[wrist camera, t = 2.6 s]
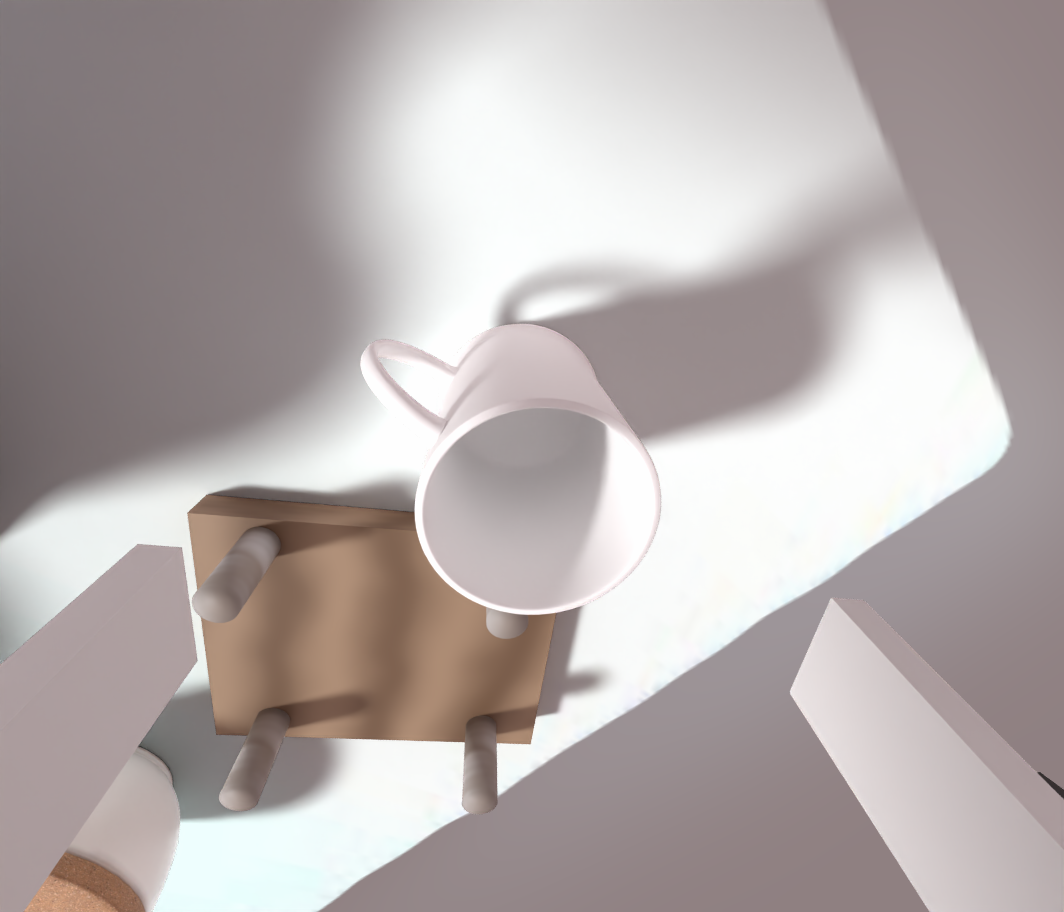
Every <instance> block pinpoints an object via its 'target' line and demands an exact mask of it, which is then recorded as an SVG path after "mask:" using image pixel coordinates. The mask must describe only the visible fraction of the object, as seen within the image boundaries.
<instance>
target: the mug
mask: <svg viewBox="0 0 1064 912" xmlns="http://www.w3.org/2000/svg"><path fill="white" fill-rule="evenodd" d="M379 358H387V359H392V360H396V361H399V362H402V363H405V364H408V365H410V366H412V367H415V368H417V369H419V370H421V371H423V372H425V373H427V374H429V375H431V376H432V377H434V378H436V379H437V380H438V381H440V382H441V385H440V390H439V411H438V414H437V415H435V414H434V413H432V412H430V411H429V410H427V409H426V408H425V407H423V406H422V405H421V404H419V403H418V402H417V401H416V400H415V399H413V398H412V397H411V396H410V395H409V394H408V393H407V392H406V391H405V390H403V389H402V388H401V387H400V386H399V385H398V384H397V383H396V381H395V380H394V379H393V378H392V377H391V376H390V375H389V373H388V372H387V371H386V370H385V368H384V367H383V365H382V363H381V362H380V360H379ZM360 364H361V370H362V373H363V376H364V378H365V380H366V382H367V384H368V385H369V387H370V388H371V390H372V391H373V392H374V394H375V395H376V396H377V397H378V398H379V400H380V401H381V402H382V403H383V404H384V405H385V406H386V407H387V408H388V409H389V410H390V411H391V412H392V413H393V414H394V415H395V416H396V417H397V418H398V419H399V420H400V421H402V422H403V423H404V424H405V425H406V426H407V427H409V428H410V429H411V430H412V431H414V432H415V433H416V434H417V435H418V436H420V437H421V438H422V439H423V440H424V441H425V442H426V443H427V444H428V446H429V447H428V450H427V454H426V458H425V461H424V465H423V468H422V472H421V476H420V479H419V483H418V487H417V492H416V499H415V523H416V529H417V534H418V538H419V541H420V544H421V546H422V549H423V551H424V553H425V555H426V557H427V559H428V560H429V562H430V564H431V565H432V567H433V568H434V569H435V571H436V572H437V573H438V574H439V575H440V577H441V578H442V579H443V580H444V581H445V582H446V583H447V584H449V585H450V586H451V587H452V588H453V589H455V590H456V591H457V592H459V593H460V594H462V595H463V596H465V597H467V598H468V599H470V600H472V601H474V602H476V603H478V604H481V605H483V606H486V607H488V608H491V609H495V610H498V611H503V612H507V613H514V614H524V615H540V614H551V613H557V612H562V611H566V610H570V609H573V608H577V607H579V606H582V605H585V604H587V603H589V602H592V601H594V600H596V599H598V598H599V597H601V596H603V595H605V594H606V593H608V592H609V591H611V590H612V589H614V588H615V587H616V586H618V585H619V584H620V583H621V582H622V581H624V580H625V579H626V578H627V577H628V576H629V575H630V574H631V573H632V572H633V571H634V569H635V568H636V567H637V566H638V565H639V563H640V562H641V560H642V559H643V558H644V556H645V554H646V553H647V551H648V549H649V547H650V545H651V543H652V541H653V539H654V536H655V533H656V530H657V527H658V523H659V518H660V511H661V491H660V484H659V479H658V475H657V472H656V469H655V466H654V464H653V462H652V459H651V457H650V455H649V454H648V452H647V450H646V449H645V447H644V445H643V444H642V442H641V441H640V440H639V438H638V437H637V435H636V434H635V433H634V431H633V430H632V428H631V427H630V426H629V424H628V423H627V421H626V420H625V419H624V417H623V416H622V414H621V413H620V412H619V410H618V409H617V408H616V406H615V405H614V403H613V402H612V401H611V399H610V398H609V396H608V395H607V394H606V392H605V391H604V389H603V388H602V387H601V385H600V384H599V382H598V381H597V377H596V374H595V372H594V370H593V367H592V365H591V364H590V362H589V360H588V359H587V357H586V356H585V355H584V353H583V352H582V351H581V350H580V349H579V348H578V347H577V346H576V345H575V344H574V343H573V342H572V341H570V340H569V339H568V338H566V337H565V336H563V335H562V334H560V333H558V332H556V331H554V330H551V329H549V328H546V327H542V326H538V325H533V324H508V325H502V326H498V327H495V328H492V329H489V330H487V331H485V332H483V333H481V334H479V335H477V336H476V337H474V338H473V339H471V340H470V341H469V342H467V343H466V344H465V345H464V346H463V347H462V348H461V349H460V350H459V351H458V352H457V353H456V354H455V356H454V357H453V358H452V360H451V361H450V363H449V364H447V363H445V362H443V361H442V360H440V359H438V358H436V357H434V356H432V355H430V354H428V353H426V352H424V351H422V350H420V349H418V348H415V347H413V346H410V345H408V344H405V343H402V342H398V341H394V340H387V339H381V340H376V341H374V342H372V343H370V344H369V345H368V346H367V347H366V349H365V350H364V352H363V354H362V357H361V363H360Z"/></svg>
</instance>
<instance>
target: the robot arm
mask: <svg viewBox="0 0 1064 912" xmlns="http://www.w3.org/2000/svg"><path fill="white" fill-rule="evenodd" d="M197 661H198V660H197V653H196V646H195V639H194V631H193V624H192V617H191V610H190V602H189V595H188V588H187V581H186V573H185V566H184V559H183V552H182V547H169V546H156V545H143V544H137V545H136V546H135V547H134V548H133V549H132V550H130V551H129V552H128V553H127V554H126V555H125V556H124V557H122V558H121V559H120V560H119V561H118V562H117V563H116V564H114V565H113V566H112V567H111V568H110V569H109V570H108V571H107V572H105V573H104V574H103V575H102V576H101V577H100V578H99V579H97V580H96V581H95V582H94V583H93V584H92V585H91V586H89V587H88V588H87V589H86V590H85V591H84V592H83V593H81V594H80V595H79V596H78V597H77V598H76V599H75V600H73V601H72V602H71V603H70V604H69V605H68V606H67V607H65V608H64V609H63V610H62V611H61V612H60V613H59V614H57V615H56V616H55V617H54V618H53V619H52V620H51V621H49V622H48V623H47V624H46V625H45V626H44V627H43V628H41V629H40V630H39V631H38V632H37V633H36V634H35V635H33V636H32V637H31V638H30V639H29V640H28V641H27V642H25V643H24V644H23V645H22V646H21V647H20V648H19V649H17V650H16V651H15V652H14V653H13V654H12V655H11V656H9V657H8V658H7V659H6V660H5V661H4V662H3V663H1V664H0V912H24V910H25V909H26V908H27V906H28V905H29V903H30V902H31V900H32V899H33V897H34V896H35V895H36V893H37V892H38V890H39V889H40V887H41V886H42V884H43V883H44V882H45V880H46V879H47V877H48V876H49V874H50V873H51V871H52V870H53V869H54V867H55V866H56V864H57V863H58V861H59V860H60V858H61V857H62V856H63V854H64V853H65V851H66V850H67V848H68V847H69V845H70V844H71V843H72V841H73V840H74V838H75V837H76V835H77V834H78V832H79V831H80V830H81V828H82V827H83V825H84V824H85V822H86V821H87V819H88V818H89V817H90V815H91V814H92V812H93V811H94V809H95V808H96V806H97V805H98V804H99V802H100V801H101V799H102V798H103V796H104V795H105V793H106V792H107V791H108V789H109V788H110V786H111V785H112V783H113V782H114V780H115V779H116V778H117V776H118V775H119V773H120V772H121V770H122V769H123V767H124V766H125V765H126V763H127V762H128V760H129V759H130V757H131V756H132V754H133V753H134V752H135V750H136V749H137V747H138V746H139V744H140V743H141V741H142V740H143V739H144V737H145V736H146V734H147V733H148V731H149V730H150V728H151V727H152V726H153V724H154V723H155V721H156V720H157V718H158V717H159V715H160V714H161V713H162V711H163V710H164V708H165V707H166V705H167V704H168V702H169V701H170V700H171V698H172V697H173V695H174V694H175V692H176V691H177V689H178V688H179V687H180V685H181V684H182V682H183V681H184V679H185V678H186V676H187V675H188V674H189V672H190V671H191V669H192V668H193V666H194V665H195V663H196V662H197ZM790 694H791V696H792V697H793V699H794V700H795V702H796V703H797V705H798V707H799V708H800V710H801V711H802V713H803V714H804V716H805V718H806V719H807V721H808V722H809V724H810V725H811V727H812V729H813V730H814V732H815V733H816V735H817V736H818V738H819V739H820V741H821V743H822V744H823V746H824V747H825V749H826V750H827V752H828V754H829V755H830V757H831V758H832V760H833V761H834V763H835V764H836V766H837V768H838V769H839V771H840V772H841V774H842V775H843V777H844V779H845V780H846V782H847V783H848V785H849V786H850V788H851V789H852V791H853V792H854V794H855V796H856V797H857V799H858V800H859V802H860V804H861V805H862V807H863V808H864V810H865V811H866V813H867V814H868V816H869V817H870V819H871V821H872V822H873V824H874V825H875V827H876V828H877V830H878V831H879V833H880V835H881V836H882V838H883V839H884V841H885V843H886V844H887V845H888V847H889V849H890V850H891V852H892V853H893V855H894V857H895V858H896V860H897V861H898V863H899V864H900V866H901V867H902V869H903V871H904V872H905V874H906V875H907V877H908V878H909V880H910V881H911V883H912V885H913V886H914V888H915V889H916V891H917V893H918V894H919V896H920V897H921V899H922V900H923V902H924V903H925V905H926V907H927V908H928V910H929V911H930V912H1064V790H1063V789H1062V788H1060V787H1059V786H1058V785H1057V784H1055V783H1054V782H1053V781H1051V780H1050V779H1048V778H1047V777H1046V776H1044V775H1043V774H1042V773H1040V772H1036V771H1035V770H1034V769H1033V768H1032V767H1031V766H1030V765H1029V764H1028V763H1027V762H1026V761H1024V759H1023V758H1022V757H1021V756H1020V755H1019V754H1018V753H1017V752H1015V750H1014V749H1013V748H1012V747H1011V746H1010V745H1008V743H1007V742H1006V741H1005V740H1004V739H1003V738H1002V737H1001V736H999V734H998V733H997V732H995V730H993V728H992V727H991V726H989V724H988V723H986V722H985V720H984V719H983V718H982V717H981V716H980V715H979V714H978V713H977V712H976V711H974V710H973V708H971V707H970V706H969V704H968V703H967V702H966V701H964V700H963V699H962V697H960V696H959V694H958V693H956V692H955V690H954V689H953V688H952V687H951V686H949V685H948V684H947V683H946V682H945V681H944V680H943V679H942V678H941V677H940V676H939V675H938V674H937V673H936V672H935V671H934V670H933V669H932V668H931V667H930V666H929V665H928V664H927V663H926V662H925V661H924V660H923V659H922V658H921V657H920V656H919V655H918V654H917V653H916V652H915V651H914V650H913V649H912V648H911V647H910V646H909V645H908V644H907V643H906V642H905V641H904V640H903V639H902V638H901V637H900V636H899V635H898V634H897V633H896V632H895V631H894V630H893V629H892V628H891V627H890V626H889V625H888V624H887V623H886V622H885V621H884V620H883V619H882V618H881V617H880V616H879V615H878V614H877V613H876V612H875V611H874V610H873V609H872V608H871V607H870V606H869V605H868V604H867V603H866V602H865V601H864V600H855V599H842V598H831V600H830V602H829V604H828V606H827V609H826V611H825V613H824V615H823V618H822V620H821V622H820V624H819V627H818V629H817V631H816V633H815V636H814V638H813V640H812V642H811V645H810V647H809V650H808V651H807V654H806V656H805V658H804V661H803V663H802V665H801V668H800V670H799V672H798V674H797V677H796V679H795V681H794V683H793V686H792V688H791V690H790Z"/></svg>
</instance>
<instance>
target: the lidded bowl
mask: <svg viewBox="0 0 1064 912" xmlns="http://www.w3.org/2000/svg"><path fill="white" fill-rule="evenodd" d="M180 820H181V819H180V808H179V803H178V799H177V796H176V793H175V790H174V788H173V779H172V774H171V772H170V770H169V768H168V767H167V766H166V764H165V763H164V762H163V761H162V760H161V759H160V758H158V757H157V756H156V755H155V754H153V753H151V752H149V751H148V750H146V749H143V748H141V747H139V746H138V747H137V749H136V750H135V752H134V753H133V754H132V756H131V757H130V759H129V760H128V762H127V763H126V765H125V766H124V767H123V769H122V770H121V772H120V773H119V775H118V776H117V778H116V779H115V780H114V782H113V783H112V785H111V786H110V788H109V789H108V791H107V792H106V793H105V795H104V796H103V798H102V799H101V801H100V802H99V804H98V805H97V806H96V808H95V809H94V811H93V812H92V814H91V815H90V817H89V818H88V819H87V821H86V822H85V824H84V825H83V827H82V828H81V830H80V831H79V832H78V834H77V835H76V837H75V838H74V840H73V841H72V843H71V844H70V845H69V847H68V848H67V850H66V851H65V853H64V854H63V856H62V857H61V858H60V860H59V861H58V863H57V864H56V866H55V867H54V869H53V870H52V871H51V873H50V874H49V876H48V877H47V879H46V880H45V882H44V883H43V884H42V886H41V887H40V889H39V890H38V892H37V893H36V895H35V896H34V897H33V899H32V900H31V902H30V903H29V905H28V906H27V908H26V909H25V910H24V912H153V910H154V908H155V906H156V903H157V901H158V899H159V897H160V895H161V892H162V890H163V888H164V885H165V882H166V880H167V877H168V874H169V871H170V869H171V866H172V863H173V860H174V856H175V853H176V849H177V845H178V841H179V832H180Z"/></svg>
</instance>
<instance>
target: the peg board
mask: <svg viewBox="0 0 1064 912" xmlns="http://www.w3.org/2000/svg"><path fill="white" fill-rule="evenodd" d="M187 514H188V521H189V529H190V537H191V544H192V552H193V560H194V567H195V575H196V583H197V592H196V593H195V594H194V596H193V598H192V606H193V608H194V610H195V612H196V613H197V614H198V615H199V616H200V617H201V621H202V628H203V636H204V644H205V651H206V659H207V667H208V674H209V682H210V690H211V697H212V705H213V713H214V720H215V728H216V735H246V736H247V738H246V740H245V742H244V744H243V746H242V748H241V750H240V752H239V755H238V757H237V759H236V761H235V763H234V765H233V767H232V769H231V771H230V773H229V775H228V778H227V780H226V782H225V784H224V786H223V788H222V790H221V792H220V794H219V801H220V803H221V804H222V805H223V806H224V807H226V808H228V809H230V810H234V811H246V810H250V809H252V808H254V807H255V806H256V805H257V803H258V800H259V798H260V796H261V793H262V791H263V788H264V786H265V783H266V781H267V778H268V776H269V773H270V771H271V768H272V766H273V763H274V761H275V758H276V756H277V753H278V751H279V748H280V746H281V743H282V741H283V739H284V737H312V738H345V739H378V740H411V741H444V742H465V753H464V774H463V796H462V806H463V808H464V809H465V810H466V811H467V812H469V813H472V814H484V813H488V812H490V811H491V810H493V809H494V808H495V807H496V805H497V743H509V744H531V739H532V734H533V729H534V724H535V719H536V714H537V708H538V703H539V698H540V693H541V688H542V683H543V678H544V673H545V668H546V663H547V658H548V653H549V648H550V642H551V637H552V632H553V627H554V622H555V617H556V613H551V614H540V615H524V614H514V613H507V612H503V611H498V610H495V609H491V608H488V607H486V606H483V605H481V604H478V603H476V602H474V601H472V600H470V599H468V598H467V597H465V596H463V595H462V594H460V593H459V592H457V591H456V590H455V589H453V588H452V587H451V586H450V585H449V584H447V583H446V582H445V581H444V580H443V579H442V578H441V577H440V575H439V574H438V573H437V572H436V571H435V569H434V568H433V567H432V565H431V564H430V562H429V560H428V559H427V557H426V555H425V553H424V551H423V549H422V546H421V544H420V541H419V538H418V534H417V529H416V523H415V512H406V511H394V510H382V509H370V508H358V507H346V506H334V505H322V504H310V503H298V502H286V501H274V500H262V499H250V498H238V497H227V496H215V495H206V496H205V497H204V498H203V499H202V500H201V501H200V502H199V503H198V504H196V505H195V506H194V507H193V508H192V509H191V510H190V511H189V512H188V513H187Z"/></svg>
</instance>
